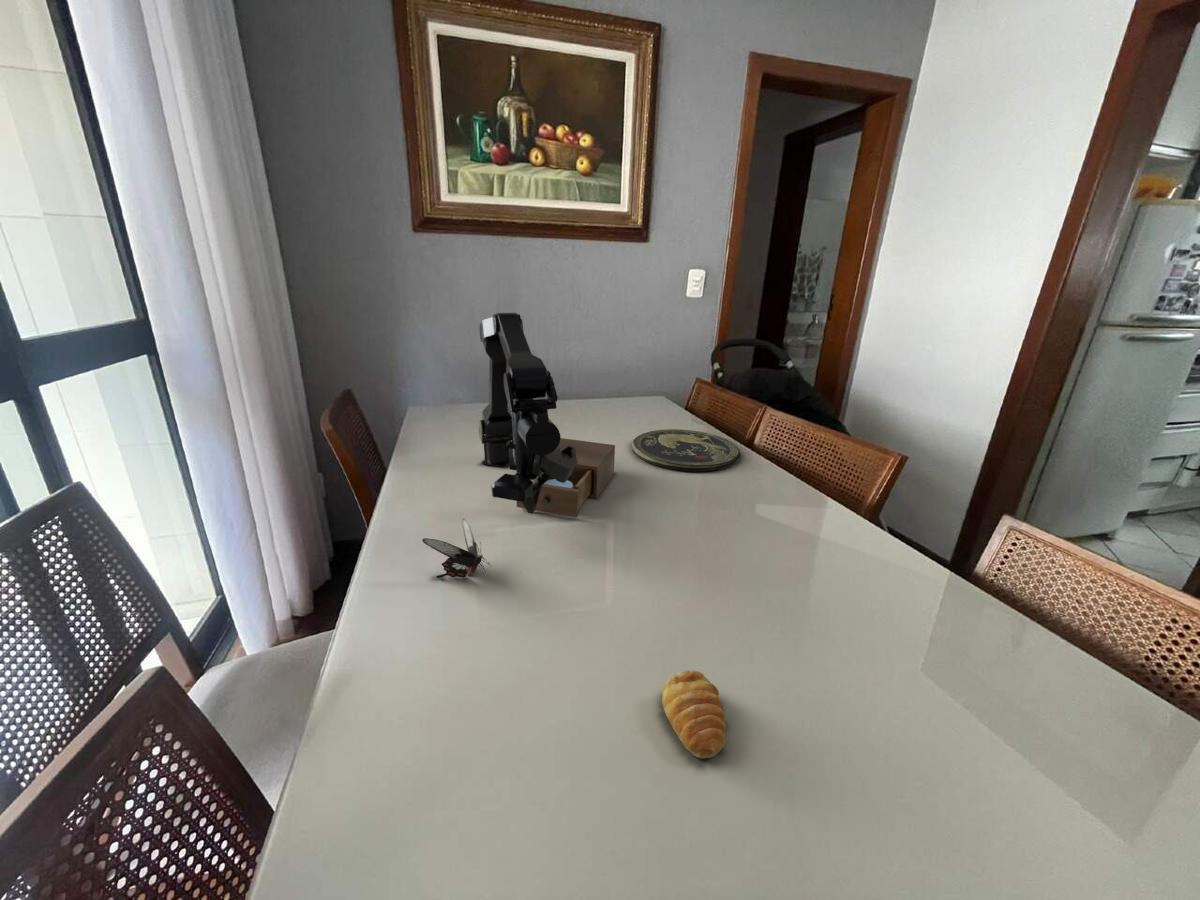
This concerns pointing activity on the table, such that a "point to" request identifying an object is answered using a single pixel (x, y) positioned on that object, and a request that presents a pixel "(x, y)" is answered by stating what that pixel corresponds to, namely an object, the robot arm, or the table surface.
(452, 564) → the butterfly
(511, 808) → the table surface
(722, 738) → the pastry
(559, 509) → the drawer
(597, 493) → the cabinet
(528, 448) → the robot arm
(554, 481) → the light blue disc
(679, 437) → the decorative plate
